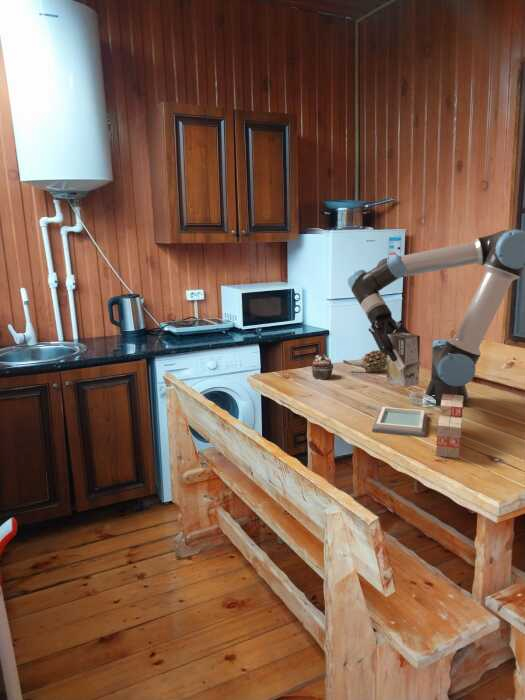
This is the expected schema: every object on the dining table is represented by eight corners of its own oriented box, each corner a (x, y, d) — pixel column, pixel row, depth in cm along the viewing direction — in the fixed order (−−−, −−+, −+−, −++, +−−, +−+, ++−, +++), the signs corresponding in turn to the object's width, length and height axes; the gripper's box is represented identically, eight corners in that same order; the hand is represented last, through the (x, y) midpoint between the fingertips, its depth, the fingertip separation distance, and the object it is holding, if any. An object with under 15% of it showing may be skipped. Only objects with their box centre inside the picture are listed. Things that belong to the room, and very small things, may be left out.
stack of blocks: (459, 459, 146) (461, 417, 144) (435, 456, 149) (437, 414, 146) (461, 432, 166) (463, 394, 163) (440, 430, 168) (442, 393, 165)
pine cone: (386, 368, 244) (387, 347, 242) (393, 373, 235) (393, 352, 233) (339, 370, 243) (340, 349, 241) (344, 375, 234) (344, 354, 231)
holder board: (427, 416, 180) (427, 409, 179) (424, 436, 162) (425, 429, 162) (379, 412, 185) (379, 405, 184) (372, 431, 167) (372, 424, 167)
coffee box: (419, 384, 168) (421, 335, 164) (404, 388, 165) (405, 338, 162) (400, 378, 176) (401, 331, 172) (385, 381, 173) (386, 333, 170)
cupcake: (308, 375, 235) (308, 353, 233) (328, 373, 238) (328, 352, 236) (315, 381, 226) (315, 358, 224) (336, 379, 229) (336, 356, 227)
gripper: (392, 314, 184) (425, 368, 174) (348, 320, 174) (381, 378, 164) (403, 300, 179) (439, 356, 168) (359, 305, 169) (394, 365, 159)
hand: (410, 366), depth 166 cm, fingers closed on coffee box, 7 cm apart
